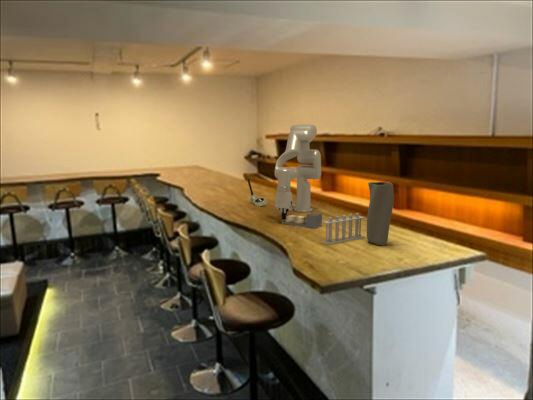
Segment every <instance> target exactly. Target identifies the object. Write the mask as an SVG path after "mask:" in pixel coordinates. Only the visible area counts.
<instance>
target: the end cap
mask: <svg viewBox="0 0 533 400" xmlns="http://www.w3.org/2000/svg"><path fill="white" fill-rule="evenodd" d="M305 217H306V227H305V228H307V229H314V230H317V229H319V228H320V227H322V226H323V225H322V224H323V220H322V219H323V213H320V212H311V213H310V212H309V213H308V214H306V215H305Z"/></svg>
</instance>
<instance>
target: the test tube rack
mask: <svg viewBox="0 0 533 400" xmlns="http://www.w3.org/2000/svg"><path fill="white" fill-rule="evenodd" d="M354 215H355V216H353V214H352V213H350V214H348V217H347V215H346V214H343V215H342V218H340V216H339V215H336V216H335V219H333V217H332V216H329V217H328V220H324V221H323V220H322V224H325V240H324V241H323V240H322V241H321V244H324V245H326V246H329V245H333V244H339V243H344V242H350V241H355V240H359V239H360V240H361V239H365V235H362V233H361V232H362V219H366V217H365V216H361V215H360V213H358V212H355V214H354ZM353 221H355V223H354V224H355V225H354V235H353ZM347 222H348V236H346V232H347V231H346V227H347V224H346V223H347ZM340 223H342V224H341V237H340V235H339V234H340ZM333 224H335V225H334V226H335V227H334V228H335V232H334V233H335V235H334V239H333ZM339 237H340V238H339Z"/></svg>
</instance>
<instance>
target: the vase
mask: <svg viewBox="0 0 533 400" xmlns="http://www.w3.org/2000/svg"><path fill="white" fill-rule="evenodd" d="M367 184H368V190H369V204H368V210H367V216H366V239H367V241H368V242H369V243H371V244H374V245H378V246H386V245H387V243H388V241H389V240H388V239H389V232H390V225H391V219H392V213H393V209H394V202H395V201H394V200H395V194H394V191H395V190H394V184H393V183H391V182H387V181H376V182H375V181H371V182H368V183H367ZM385 244H386V245H385Z"/></svg>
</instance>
